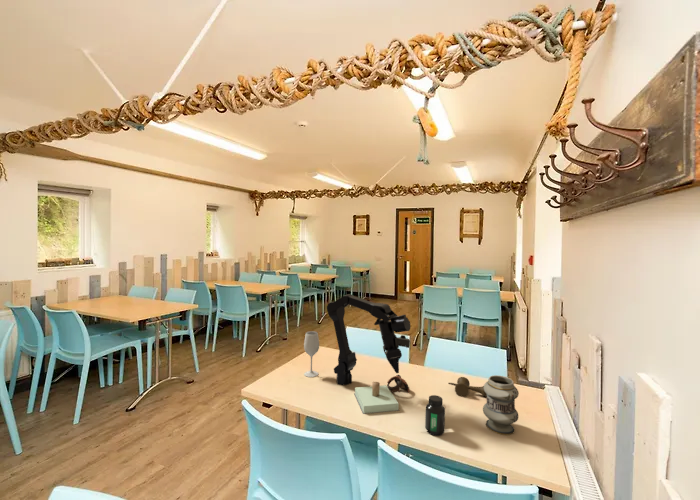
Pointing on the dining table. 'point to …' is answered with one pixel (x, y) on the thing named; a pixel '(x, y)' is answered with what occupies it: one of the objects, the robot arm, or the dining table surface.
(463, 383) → the kendama
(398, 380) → the pottery mug
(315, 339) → the wineglass
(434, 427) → the supplement bottle
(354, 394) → the mat
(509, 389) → the apothecary jar
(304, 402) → the dining table surface
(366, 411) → the lid
